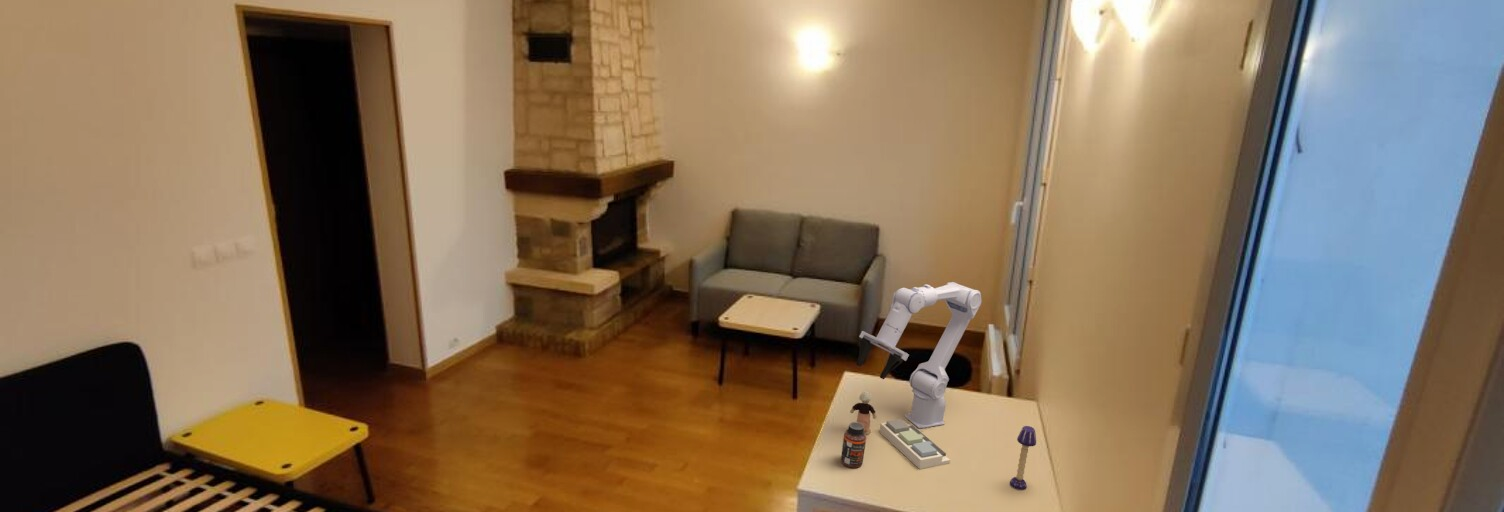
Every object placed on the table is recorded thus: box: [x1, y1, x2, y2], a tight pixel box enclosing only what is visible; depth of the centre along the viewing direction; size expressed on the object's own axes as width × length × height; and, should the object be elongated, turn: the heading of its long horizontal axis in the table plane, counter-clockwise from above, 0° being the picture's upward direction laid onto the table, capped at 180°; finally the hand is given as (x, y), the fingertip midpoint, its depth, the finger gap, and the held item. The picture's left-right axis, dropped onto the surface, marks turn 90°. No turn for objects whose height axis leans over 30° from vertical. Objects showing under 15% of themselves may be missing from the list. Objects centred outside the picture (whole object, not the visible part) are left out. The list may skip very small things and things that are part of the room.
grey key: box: [886, 418, 910, 434], centre depth 206 cm, size 5×5×1 cm
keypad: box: [879, 421, 951, 470], centre depth 201 cm, size 10×20×3 cm, turn 23°
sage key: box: [898, 430, 923, 445], centre depth 200 cm, size 5×5×1 cm
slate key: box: [912, 441, 937, 457], centre depth 194 cm, size 5×5×1 cm
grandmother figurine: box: [849, 390, 878, 435], centre depth 206 cm, size 8×4×13 cm, turn 84°
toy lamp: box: [1009, 425, 1037, 490], centre depth 184 cm, size 5×5×17 cm
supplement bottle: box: [840, 421, 867, 469], centre depth 190 cm, size 6×6×11 cm
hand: (869, 372), depth 194 cm, fingers open, 7 cm apart
